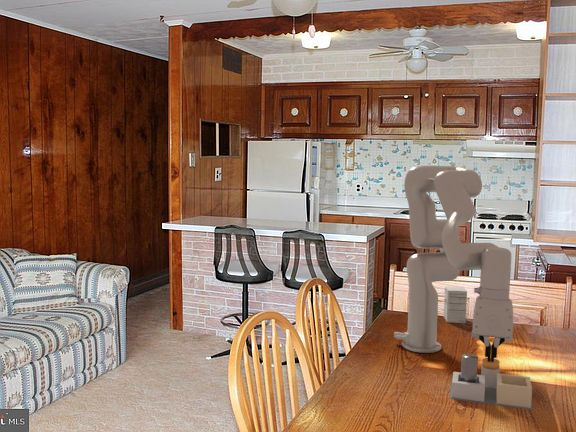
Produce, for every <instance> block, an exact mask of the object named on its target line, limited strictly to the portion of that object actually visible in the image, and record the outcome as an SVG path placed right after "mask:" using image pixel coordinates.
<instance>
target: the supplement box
mask: <svg viewBox="0 0 576 432" xmlns="http://www.w3.org/2000/svg"><path fill="white" fill-rule="evenodd" d="M467 298H468V290H467V289H466V288H465V287H463V286H444V298H443V299H444V303H443V319H445V322H446V323H454V324H467V322H466V320H467V303H468V302H467V300H468V299H467Z"/></svg>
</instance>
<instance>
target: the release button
mask: <svg viewBox="0 0 576 432" xmlns="http://www.w3.org/2000/svg"><path fill="white" fill-rule="evenodd" d="M482 366H483V367H485V368H489V369H498V368H499V366H500V360H498V359H497V358H494V362H492V361H491V359H490V361H488V357H484V358H483V359H482V360H481V367H482Z"/></svg>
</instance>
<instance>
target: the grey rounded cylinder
mask: <svg viewBox="0 0 576 432" xmlns="http://www.w3.org/2000/svg"><path fill="white" fill-rule="evenodd" d="M460 361H461V364H460V373H461V382H469V383H477V375H478V363H479V362H478V361H479V357H478V356H477V355H476V354H471V353H463V354H461V359H460Z"/></svg>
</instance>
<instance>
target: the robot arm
mask: <svg viewBox="0 0 576 432" xmlns="http://www.w3.org/2000/svg"><path fill="white" fill-rule="evenodd" d="M403 186H404V191H405V193H404V194H405V196H406V199H407V200H406V201H407V204H408V209H409V211H408V214H409V215H408V217H409V236H410V243H411V245H412V246H413V247H414V248H416V249H439V250H440V251H437V252H436V251H435V252H419V253H414V254H412V255H411V256H409V258H408V259H407V261H406V273H407V274H406V275H407V278H408V279H407V280H408V282H407V283H408V305H407V307H408V308H407V310H408V311H407V330H406V331H404V332H400V331H393V338H395V339H396V340H399V341H401V340H402V343H401V345H402V347H403V349H405V350H407V351H411V352H414V353H421V354H422V353H423V354H431V353H437V352H439V351H440V350H442V344H441V343H440V342H438V341H437V339H438V338H437V337H438V336H437V335H438V316H439V314H438V313H439V311H438V310H439V295H438V292H437V289H436V288H435V286H434V285H433V283H435V282H449V281H454V280H456V279H457V278H458V277H459V275H460V273H461V271H477V270H478V271H480V279H479V286H478V287H474V288H473V293H474V294H475V293H476V294H477V296H476V298H475V302H474V308H473V317H472V330H471V332H470V333H471V335H470V336H471V337H472V338H475V339H478V340H480V341H481V342H482V343H483V345H484V346H485V347H484V358H488V361H490V359H491V361H492V362H494V359H497V357H498V348H499V346H501V345H502V344H503V343H505V342H507V343H508V342H513V341H514V337H513V336H514V335H513V334H514V333H513V331H514V305H513V300H512V299H510V289H511V288H510V286H511V275H512V274H511V273H512V272H511V271H512V270H511V269H512V252H511V250H510V249H508V248H505V247H499V246H497V244H494V243H492V242H462V241H461V240H460V234H459V229H458V228H459V227H461V226H462V225H463V226H464V224H466V223H468V222H470V221H471V220H472V219H473V218H474V217H475V215H476V211H477V209H476V206H475V205H474V202H473V200H472V198H475V197H477V196H479V195H480V194H481V192H482V188H483V183H482V178H481V176H480V175H479V174H478V173H477V172H476V171H475V170H472V169H469V168H463V167H461V166H460V167H459V166H454V165H418V166H414V167H411V168H410V169H409V170H408V171H407V172H406V174H405V178H404V185H403ZM428 193H436V195H437V197H438V199H439V202H440V205H441V207H442V209H443V212H444V215H445V217H446V218H441V219H440V218H439V219H437V214H436V213H437V212H436V209H437V208H436V205H435V202H434V200H433V198H431V196H430V195H429V194H428ZM489 337H490V338H494V340H493V342H492V344H491V342H490V338H489Z"/></svg>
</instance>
